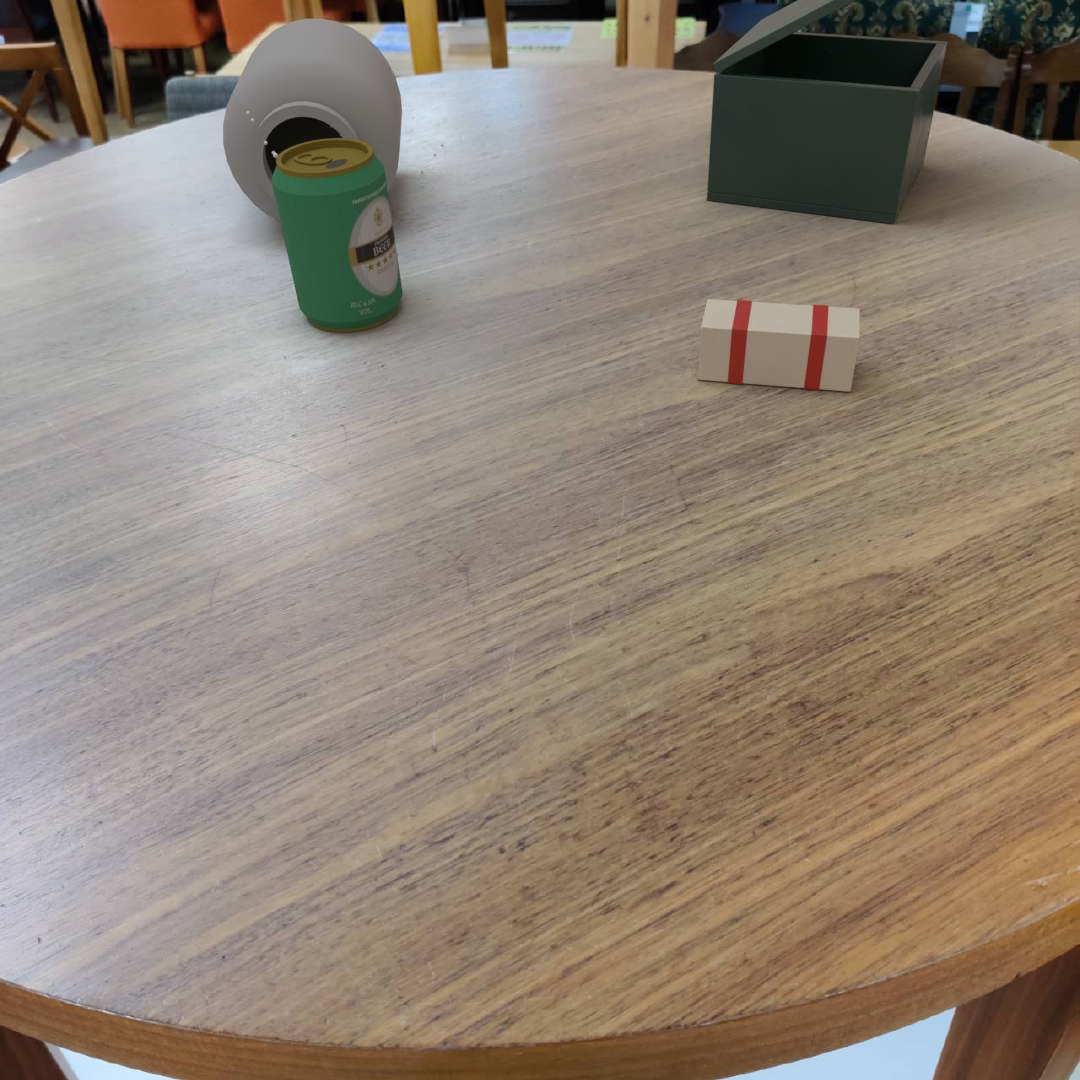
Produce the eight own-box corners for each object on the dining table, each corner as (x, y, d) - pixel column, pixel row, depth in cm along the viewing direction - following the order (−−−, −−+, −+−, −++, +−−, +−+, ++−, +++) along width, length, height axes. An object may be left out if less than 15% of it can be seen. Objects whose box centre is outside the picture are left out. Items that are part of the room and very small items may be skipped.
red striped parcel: (850, 361, 70) (859, 307, 67) (850, 393, 67) (860, 337, 64) (704, 350, 72) (707, 297, 69) (697, 381, 69) (700, 326, 66)
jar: (472, 118, 98) (426, 178, 77) (387, 236, 105) (323, 320, 83) (308, -23, 93) (210, -1, 71) (229, 111, 99) (119, 167, 78)
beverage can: (363, 343, 75) (334, 183, 67) (280, 322, 78) (243, 166, 70) (424, 297, 80) (403, 143, 72) (344, 279, 83) (316, 130, 76)
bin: (923, 164, 96) (947, 41, 89) (894, 224, 86) (918, 91, 79) (752, 146, 102) (762, 29, 95) (706, 200, 92) (713, 74, 85)
